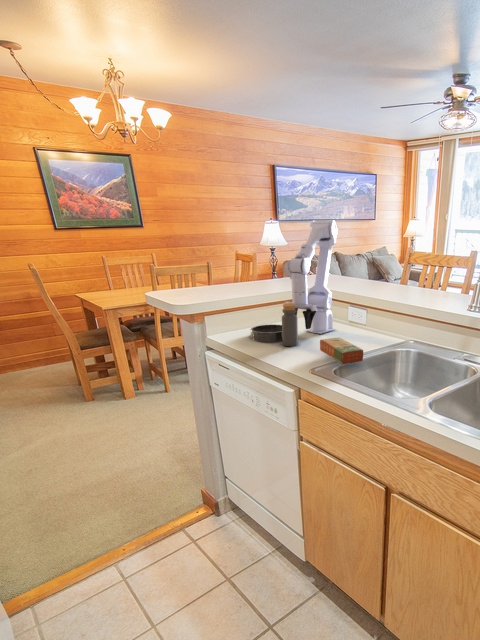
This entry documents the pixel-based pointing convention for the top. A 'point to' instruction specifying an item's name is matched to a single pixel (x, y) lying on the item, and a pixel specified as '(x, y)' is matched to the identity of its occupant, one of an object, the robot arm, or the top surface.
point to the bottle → (289, 325)
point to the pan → (267, 333)
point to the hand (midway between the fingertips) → (301, 327)
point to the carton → (341, 350)
